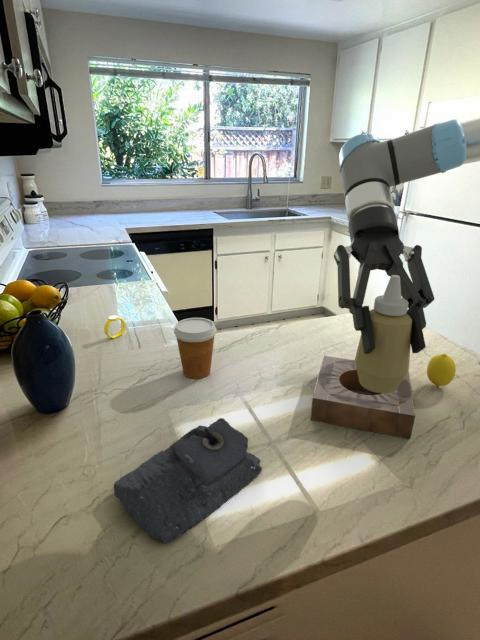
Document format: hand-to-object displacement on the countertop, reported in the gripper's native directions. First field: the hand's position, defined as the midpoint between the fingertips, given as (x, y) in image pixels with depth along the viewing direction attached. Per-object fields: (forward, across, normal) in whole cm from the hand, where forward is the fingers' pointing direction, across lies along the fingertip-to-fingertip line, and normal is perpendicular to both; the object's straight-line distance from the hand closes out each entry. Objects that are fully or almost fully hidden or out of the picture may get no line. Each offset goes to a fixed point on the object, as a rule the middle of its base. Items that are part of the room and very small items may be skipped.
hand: (394, 350), depth 58 cm
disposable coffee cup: (-7, +31, -37) cm, 49 cm away
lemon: (-2, -22, -32) cm, 39 cm away
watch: (-21, +55, -52) cm, 78 cm away
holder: (+2, -3, -28) cm, 28 cm away
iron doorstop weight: (+16, +30, -14) cm, 37 cm away
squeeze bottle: (+3, 0, -8) cm, 9 cm away
